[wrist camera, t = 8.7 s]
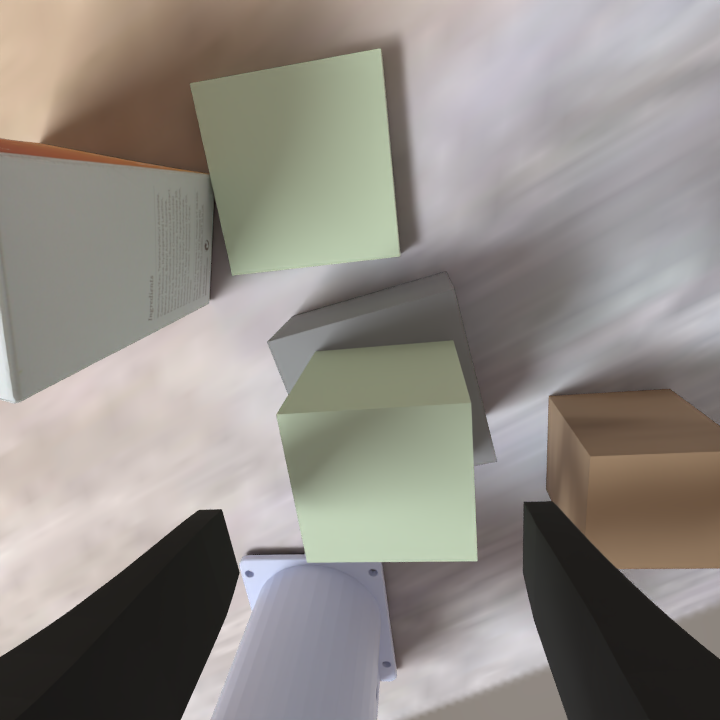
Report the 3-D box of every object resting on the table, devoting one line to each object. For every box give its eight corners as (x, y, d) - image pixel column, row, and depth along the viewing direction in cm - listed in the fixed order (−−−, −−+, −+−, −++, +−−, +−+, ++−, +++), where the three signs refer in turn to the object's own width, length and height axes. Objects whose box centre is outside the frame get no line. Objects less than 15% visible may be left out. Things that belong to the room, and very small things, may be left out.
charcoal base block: (481, 413, 21) (497, 461, 17) (342, 444, 22) (328, 495, 18) (445, 270, 18) (454, 288, 15) (294, 314, 20) (267, 341, 16)
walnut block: (656, 484, 21) (727, 568, 16) (545, 488, 21) (583, 568, 17) (669, 388, 19) (752, 450, 14) (548, 395, 20) (590, 456, 15)
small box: (219, 174, 18) (-13, 146, 8) (212, 306, 20) (20, 411, 10) (34, 139, 18) (-407, 71, 8) (45, 272, 20) (-299, 342, 10)
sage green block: (459, 461, 17) (477, 561, 12) (334, 467, 18) (307, 562, 13) (453, 340, 15) (471, 403, 11) (315, 351, 16) (276, 414, 11)
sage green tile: (400, 253, 18) (399, 256, 17) (240, 271, 19) (232, 275, 18) (382, 57, 16) (380, 48, 15) (202, 89, 17) (189, 83, 16)
